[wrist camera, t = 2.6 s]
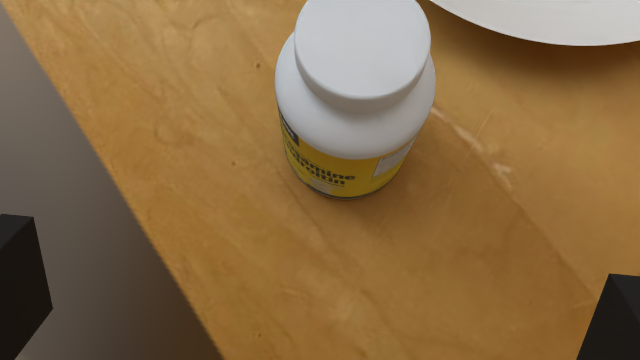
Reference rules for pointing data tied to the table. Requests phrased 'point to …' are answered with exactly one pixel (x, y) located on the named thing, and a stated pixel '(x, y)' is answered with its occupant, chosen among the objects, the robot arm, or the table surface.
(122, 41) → the table surface
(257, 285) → the table surface
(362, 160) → the pill bottle
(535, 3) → the white plate
